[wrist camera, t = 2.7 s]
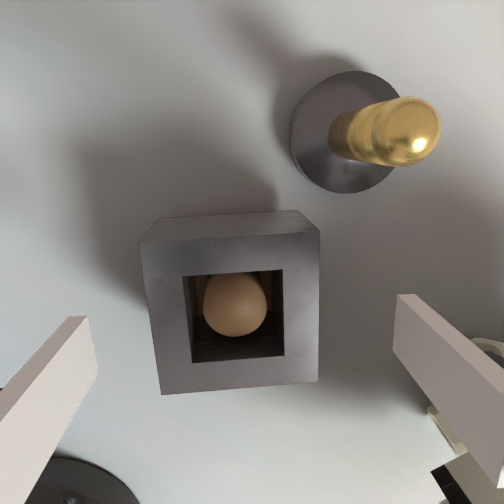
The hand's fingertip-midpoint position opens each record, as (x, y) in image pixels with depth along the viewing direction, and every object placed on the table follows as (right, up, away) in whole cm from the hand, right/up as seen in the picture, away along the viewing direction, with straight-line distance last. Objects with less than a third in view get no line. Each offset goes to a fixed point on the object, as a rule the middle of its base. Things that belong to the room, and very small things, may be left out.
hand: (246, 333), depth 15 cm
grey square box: (-1, +2, +6) cm, 7 cm away
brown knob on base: (-1, +2, +8) cm, 8 cm away
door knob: (+6, +10, +6) cm, 13 cm away
